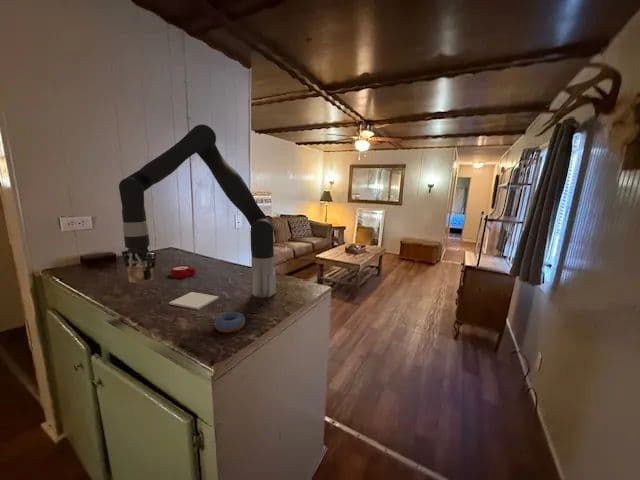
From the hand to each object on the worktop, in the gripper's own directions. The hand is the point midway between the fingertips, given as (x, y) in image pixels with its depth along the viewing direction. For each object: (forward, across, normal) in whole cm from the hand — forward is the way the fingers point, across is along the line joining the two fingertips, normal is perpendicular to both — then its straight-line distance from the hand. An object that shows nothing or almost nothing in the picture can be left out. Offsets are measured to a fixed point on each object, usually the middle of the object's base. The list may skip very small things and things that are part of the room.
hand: (141, 278), depth 103 cm
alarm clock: (+12, +17, -37) cm, 43 cm away
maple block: (+1, 0, 0) cm, 1 cm away
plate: (+12, -13, -12) cm, 21 cm away
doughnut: (+13, -39, +1) cm, 41 cm away
